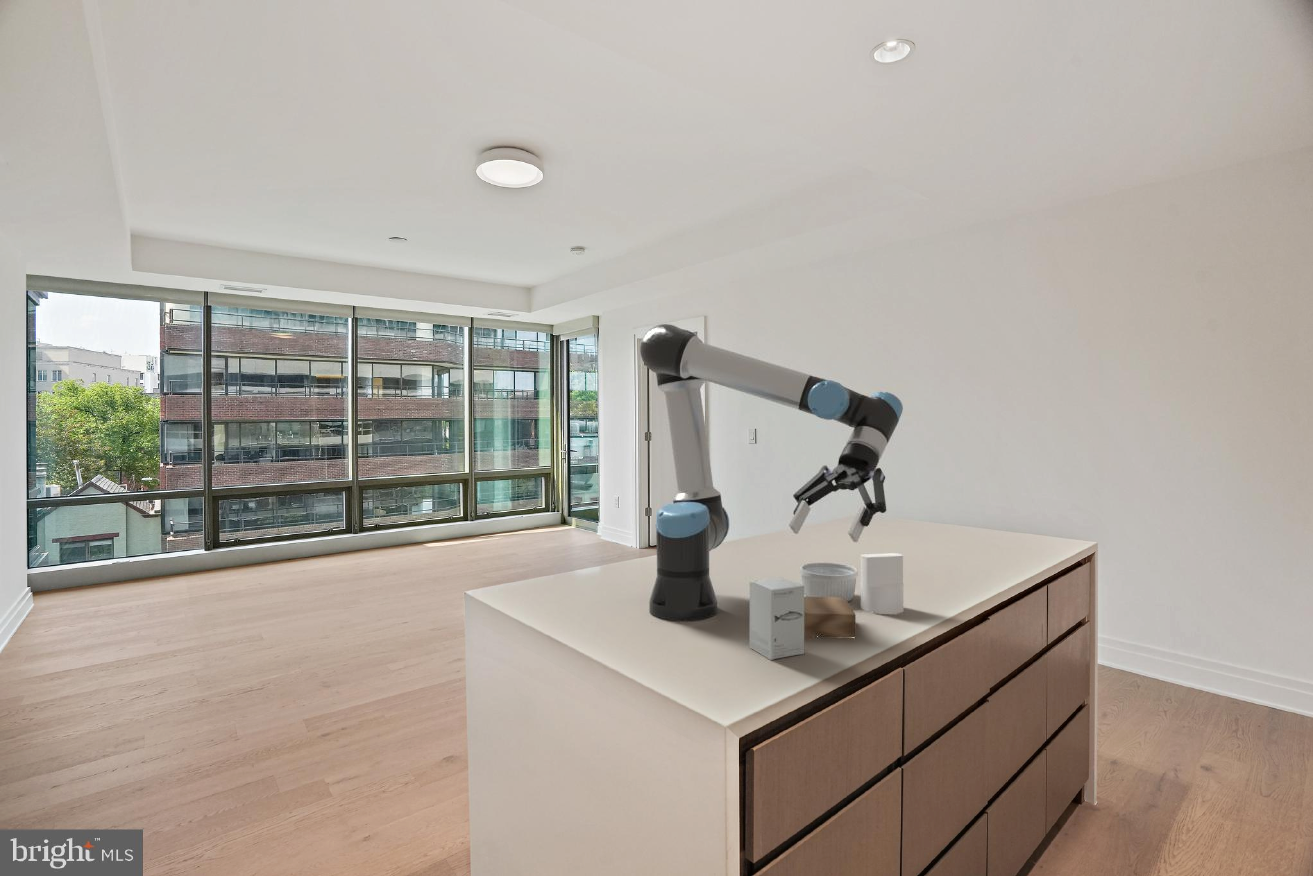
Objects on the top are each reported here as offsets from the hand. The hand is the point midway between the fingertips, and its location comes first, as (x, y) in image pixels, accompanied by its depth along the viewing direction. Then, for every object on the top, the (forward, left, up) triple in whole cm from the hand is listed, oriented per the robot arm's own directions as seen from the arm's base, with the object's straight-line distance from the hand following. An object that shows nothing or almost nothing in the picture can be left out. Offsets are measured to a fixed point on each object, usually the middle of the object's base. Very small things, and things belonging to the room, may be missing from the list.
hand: (821, 533), depth 126 cm
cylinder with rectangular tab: (+16, +18, -20) cm, 32 cm away
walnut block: (0, +4, -20) cm, 21 cm away
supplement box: (-10, -10, -20) cm, 24 cm away
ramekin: (+6, +27, -20) cm, 34 cm away
